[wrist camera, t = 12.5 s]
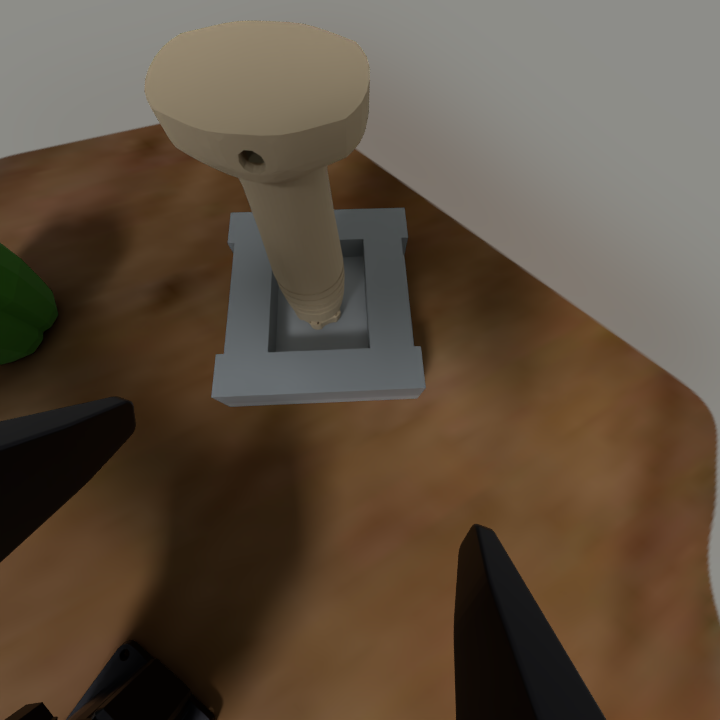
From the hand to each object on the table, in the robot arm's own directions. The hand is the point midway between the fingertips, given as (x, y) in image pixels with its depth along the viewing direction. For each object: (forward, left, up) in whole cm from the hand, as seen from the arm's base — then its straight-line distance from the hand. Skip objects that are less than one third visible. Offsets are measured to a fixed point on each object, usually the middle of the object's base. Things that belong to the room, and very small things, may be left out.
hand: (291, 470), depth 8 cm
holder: (+9, +7, -14) cm, 18 cm away
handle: (+9, +7, -13) cm, 17 cm away
